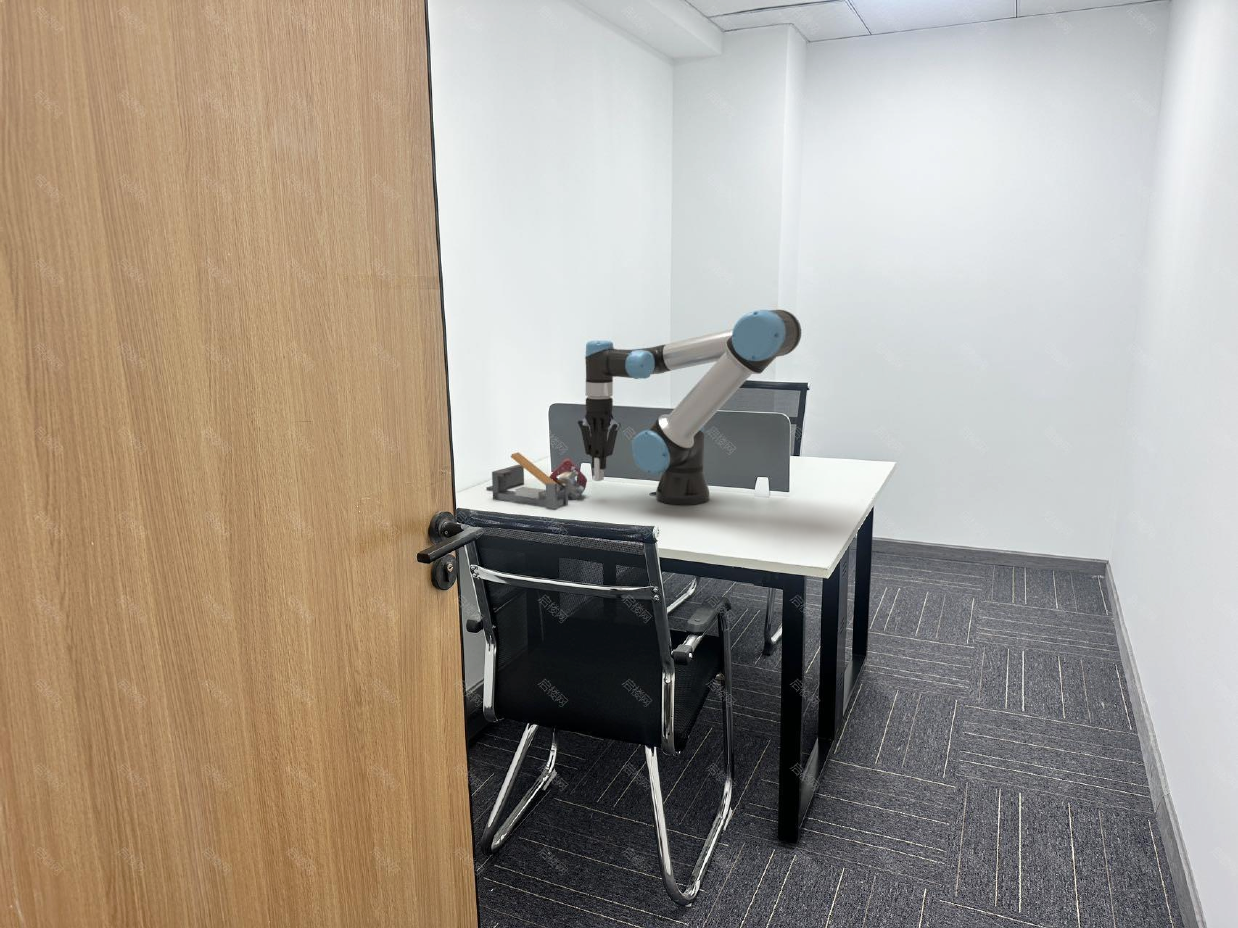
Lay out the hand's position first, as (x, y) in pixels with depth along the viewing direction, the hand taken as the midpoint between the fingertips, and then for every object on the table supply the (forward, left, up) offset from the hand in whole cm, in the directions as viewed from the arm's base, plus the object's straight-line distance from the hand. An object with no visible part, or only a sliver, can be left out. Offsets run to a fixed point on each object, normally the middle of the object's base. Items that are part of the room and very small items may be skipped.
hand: (598, 480), depth 238 cm
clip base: (+16, +12, -6) cm, 21 cm away
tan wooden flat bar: (+13, +12, +3) cm, 18 cm away
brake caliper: (+10, +1, -6) cm, 12 cm away
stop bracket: (+34, 0, -6) cm, 34 cm away
